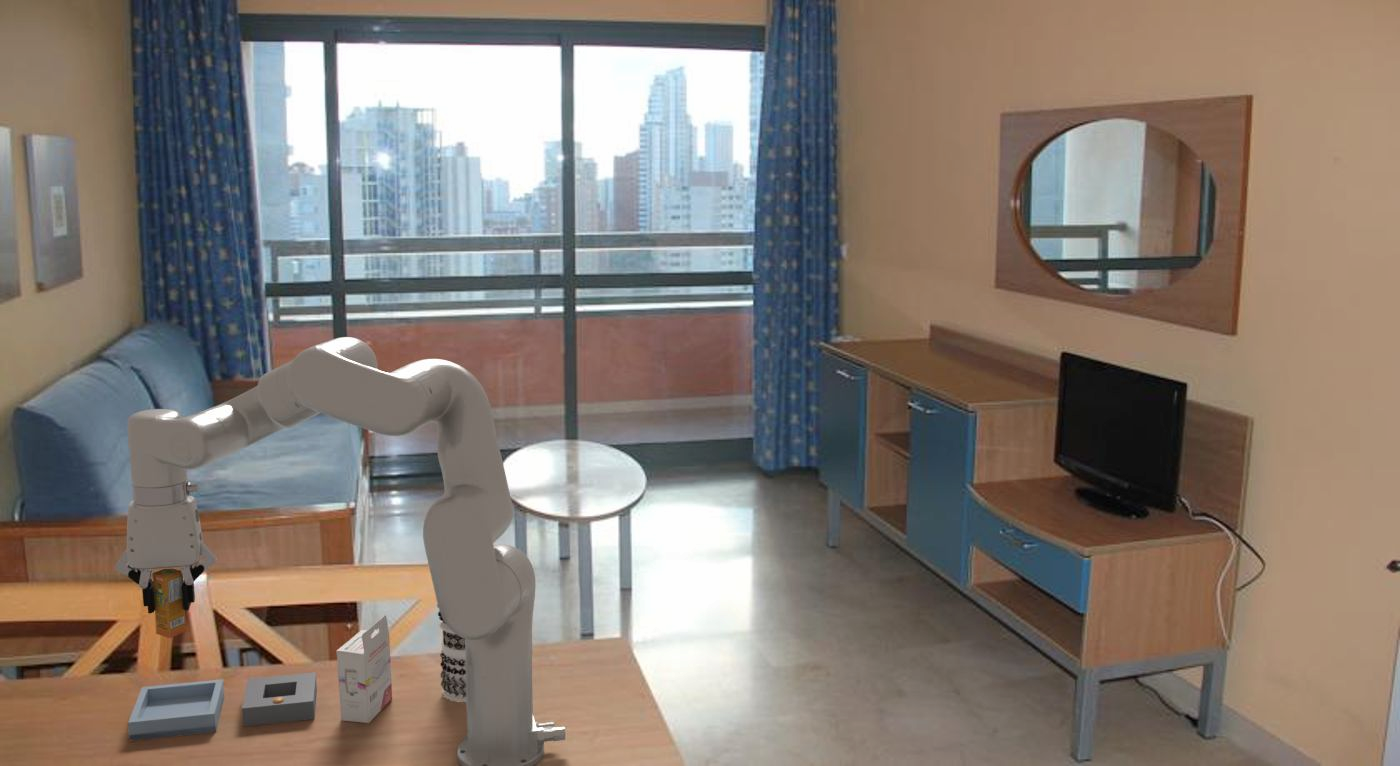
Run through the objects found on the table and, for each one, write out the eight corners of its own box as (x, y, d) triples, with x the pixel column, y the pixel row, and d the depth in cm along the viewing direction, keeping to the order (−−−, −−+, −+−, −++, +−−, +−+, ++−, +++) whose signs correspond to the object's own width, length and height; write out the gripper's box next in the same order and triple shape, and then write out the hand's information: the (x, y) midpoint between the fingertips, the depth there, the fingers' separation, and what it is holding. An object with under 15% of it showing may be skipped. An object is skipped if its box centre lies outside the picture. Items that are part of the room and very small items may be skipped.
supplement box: (153, 634, 184) (150, 571, 182) (172, 627, 187) (170, 565, 185) (168, 639, 182) (166, 576, 180) (187, 632, 185) (185, 570, 183)
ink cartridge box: (364, 696, 196) (360, 610, 193) (393, 699, 195) (389, 613, 192) (338, 721, 187) (334, 632, 184) (368, 724, 186) (364, 635, 183)
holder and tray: (317, 687, 198) (316, 669, 198) (314, 721, 187) (313, 702, 186) (143, 704, 192) (141, 685, 191) (129, 741, 180) (127, 721, 180)
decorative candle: (448, 676, 203) (444, 534, 198) (502, 680, 202) (499, 537, 197) (431, 701, 194) (426, 553, 189) (488, 705, 193) (484, 556, 188)
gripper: (223, 482, 186) (231, 594, 190) (104, 489, 181) (114, 604, 185) (218, 496, 179) (226, 613, 182) (93, 504, 174) (104, 623, 178)
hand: (169, 607), depth 184 cm, fingers closed on supplement box, 4 cm apart
